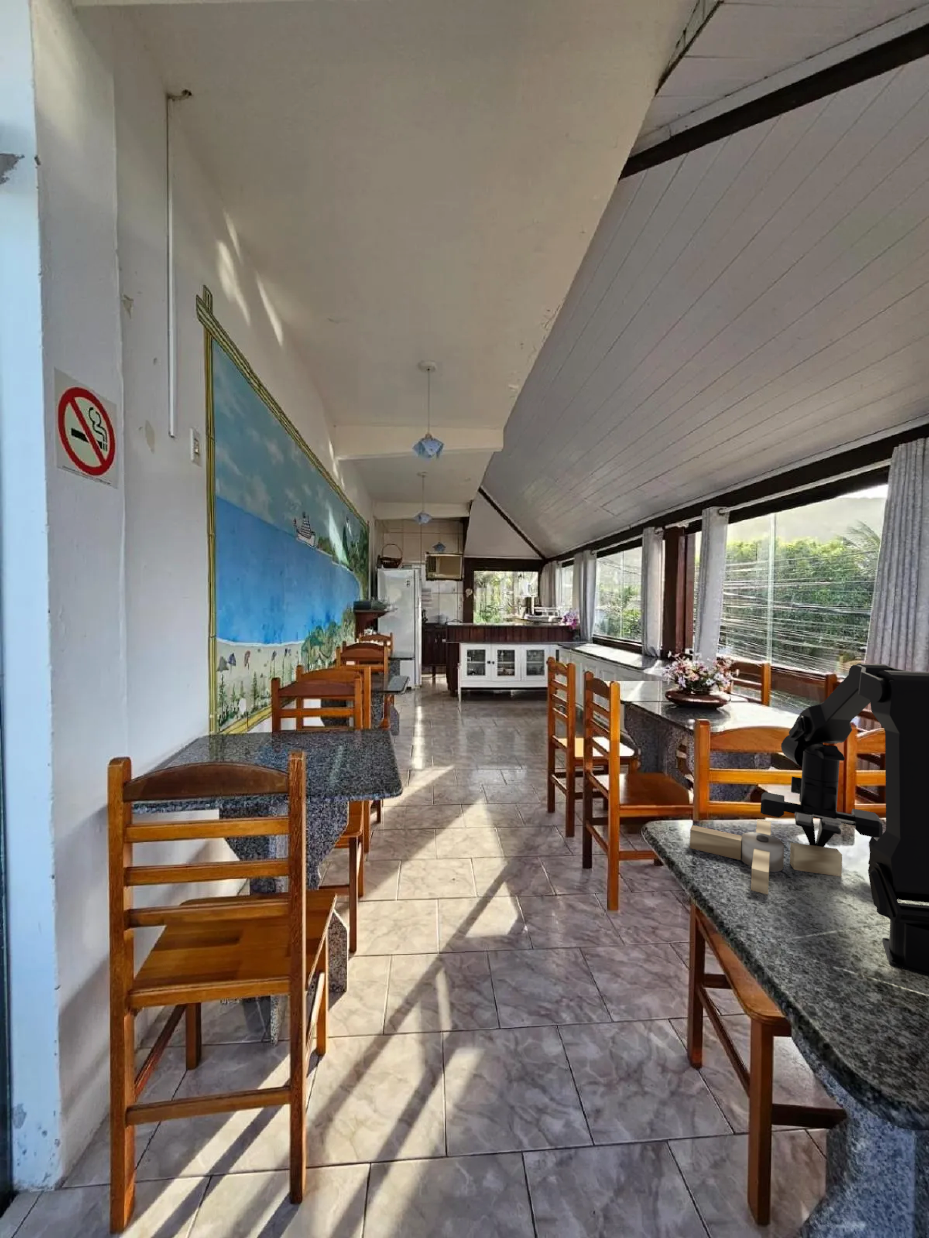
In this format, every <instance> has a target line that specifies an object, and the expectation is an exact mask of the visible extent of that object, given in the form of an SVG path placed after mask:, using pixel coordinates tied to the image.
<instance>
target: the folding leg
mask: <svg viewBox="0 0 929 1238" xmlns="http://www.w3.org/2000/svg"><path fill="white" fill-rule="evenodd" d="M789 850H790V851H789V864H790V866H791V867H792V869H793V871H801V872H808V873H815V874H819V875H829V876H834V877H839V878H840V877H842V875H843V874H842V868H843V854H842V853H841V852H840V851H839V849H838V848H836V847H835V848H834V847H827V846H824V847H821V846H813V845H809V844H804V843H798V842H797V843H795V842H790V849H789Z"/></svg>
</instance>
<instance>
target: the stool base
mask: <svg viewBox="0 0 929 1238" xmlns="http://www.w3.org/2000/svg"><path fill="white" fill-rule="evenodd" d="M689 831H690V832H689V833H690V834H689V849H691V850H692V849H693V850H697V851H701V852H704V853H709V854H714V855H717V856H723V857H725V858H726V857H727V858H730V859H734V860H738V861H742V862H743V863H744V864H745V865H747V866H749V867H751V876H750V877H751V881H750V883H751V885H750V891H752V892H756V893H761V894H763V895H769V883H770V881H769V880H770V872H771V873H772V872H775V873H776V872H781V871H782V870H783V869H784V866H785V865H784V863H785V862H784V861H785V858H784V857H785V855H784V854H785V844H784V842H783V841H782V840H781V839H779V838H777V837H775V836H772V833H771V832H772V822H771V821H770V820H764V819H758V818H757V819H756V829H755V831H754V832H753V831H749V832H744V833H743V834H741V835H739V834H735V833H731V832H725V831H720V830H716V829H712V828H707V827H703V826H698V825H691V827H690V830H689Z"/></svg>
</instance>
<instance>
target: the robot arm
mask: <svg viewBox="0 0 929 1238" xmlns="http://www.w3.org/2000/svg"><path fill="white" fill-rule="evenodd" d="M869 705H870V710H871V713H872V714H873V716H874V717H875V719H876V720H877V722H879V724H880V725H881V727H882V728H883V730H884V735H885V736H884V740H885V741H884V742H885V743H884V744H885V745H884V747H885V748H884V749H885V750H884V753H885V756H884V757H885V760H884V761H885V770H884V771H885V773H884V775H885V831H884V832H883V830H884V829H883V826H884V825H883V823H882V821H881V818H880V816H879V815H878V814H876V812H871V811H867V810H862V809H856V808H852V809H851V813H846V812H841V811H837V810H838V809H837V808H838V797H839V796H838V794H839V793H838V792H839V778H840V777H839V775H840V761H841V762H844V761H845V759H846V758H845V756H844V754H843V753H842V752H841V751H840V750H839V748H838V745H836V744H842V743H844V742H846V740H847V738H848V737H849V736H850V734H851V732H853V728H852V725H851V722H852V721H853V720H854V719H855V718H857V716H858V715H859V714H860V713H861V712H862V711H863V710H864V709H865V708H867V706H869ZM827 744H829V745H827ZM830 744H835V745H830ZM780 747H781V751H782V754H783V755H784V756H785V757H786V758H788V759H789V760H791V761H792V762H793V763H794V764H796V765H798V766H799V767H801V777H797V776H792V775H791V785H790V793H792V794H795V795H796V794H797V795H799V798H798V800H799V803H795V802H789V801H785V795H782V794H778V793H771V792H768V791H767V792H765V791H764V792H763V793H762V794H761V798H760V814H762V815H765V816H770V817H773V818H774V817H775V818H781V817H783V816H784V815H785V813H789V814H790V813H791V814H794V822H795V825H796V826H798V827H801V828H802V830H803V833H804V834H805V837H806V839H807V842H808V845H813V846H821V847H826V845H827V843H828V842H829V841H830V840H831V838H833V837H834V835H841V834H842V830H841V829H842V828H841V826H842V824H844V825H847V826H848V825H849V826H854V829H855V830H856V832H857V833H858V834H860V835H861V836H865V837H870V839H869V841H868V848H869V858H868V862H867V863H868V869H867V873H868V881H869V887H870V892H871V897H872V898H871V899H872V903H873V905H874V906H875V908H876V912H877V913H878V915H880V916H883V917H885V918H888V919H889V937H882V945H883V948H884V951H885V954H886V957H887V960H888V963H889V965H891V966H893V967H895V968H898V969H902V970H905V971H909V972H912V973H915V974H919V975H923V976H926V977H929V905H928V904H929V671H915V670H913V671H910V670H906V669H900V668H897V667H894V666H891V665H888V664H885V663H862V662H861V663H856V664H852V665H851V666H850V667H849V669H848V675H846V677H845V678H844V679H843V680H842V681H841V682H840V683H839V684H838V685H837V687H836V688H835V689H833V691H832V692H831V693H830V694H829V696H827V698H826V699H825V700H824V701H823V702H821V703H817V704H814V705H810V706H808V707H806V708H805V709H803V710H802V711H801V712H800V713H799V715H798V716H797V718H796V720H795V722H794V724H793V726H792V727H791V728H790V730H788V735H787V736H784V738H783V740H782V742H781V745H780ZM814 819H818V820H819V823H818V824H819V825H818V831H817V834H816V832H815V824H814ZM899 901H907V902H918V903H928V904H915V903H905V902H899Z"/></svg>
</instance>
